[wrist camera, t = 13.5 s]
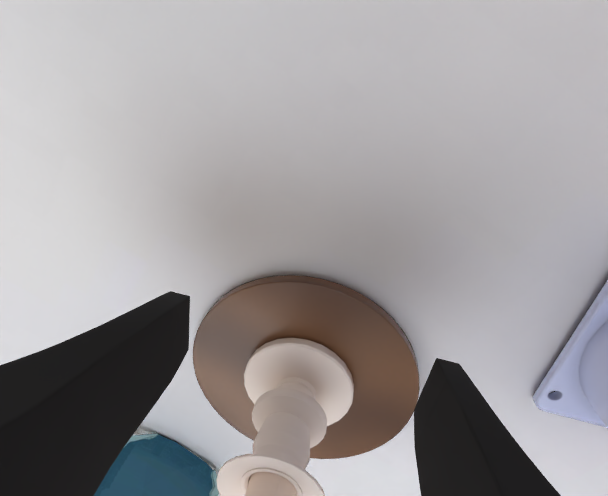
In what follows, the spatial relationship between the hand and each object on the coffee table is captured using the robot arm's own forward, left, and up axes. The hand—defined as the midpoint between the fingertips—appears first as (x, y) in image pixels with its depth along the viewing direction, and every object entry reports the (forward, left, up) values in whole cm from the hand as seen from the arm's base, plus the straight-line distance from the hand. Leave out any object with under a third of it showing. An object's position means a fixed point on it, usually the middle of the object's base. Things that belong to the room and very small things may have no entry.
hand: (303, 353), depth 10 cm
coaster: (+6, 0, -5) cm, 8 cm away
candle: (+6, 0, -5) cm, 8 cm away
